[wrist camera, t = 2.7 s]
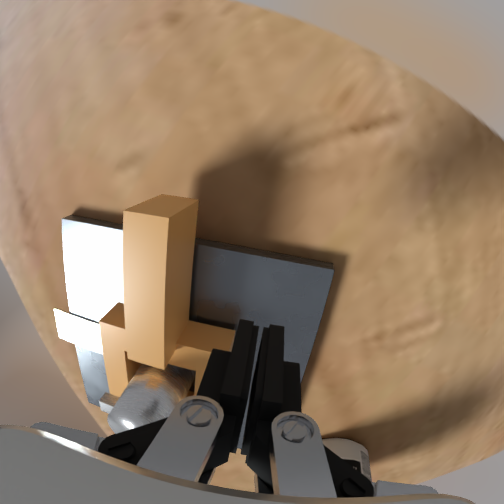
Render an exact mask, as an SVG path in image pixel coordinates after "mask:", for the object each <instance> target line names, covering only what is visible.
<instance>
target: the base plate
mask: <svg viewBox="0 0 504 504" xmlns="http://www.w3.org/2000/svg"><path fill="white" fill-rule="evenodd" d="M62 238H63V254H64V267H65V278H66V287H67V295H68V303H69V310H70V313H68V312H66V311H63V310H60V309H58V308H54V312H55V318H56V323H57V328H58V333H59V338H62V339H64V340H67V341H69V342H72V343H74V344H75V346H76V351H77V356H78V360H79V365H80V369H81V374H82V378H83V382H84V386H85V390H86V394H87V398H88V401H89V403H92V404H94V405H97V406H99V407H101V411H104V412H106V413H109V415H108V423H109V425H110V427H111V429H112V430H113V431H114V432H115V434H117V433H120V432H123V431H127V430H130V429H133V428H136V427H140V426H143V425H146V424H149V423H152V422H155V421H158V420H161V419H164V418H167V417H169V415H170V414H171V412H172V411H173V409H174V408H175V406H176V405H177V403H178V402H179V401H180V400H182V399H184V398H186V396H187V394H188V392H189V391H191V392H195V376H196V371H194V370H190V369H186V368H182V367H178V366H174V365H171V364H167V366H166V368H165V370H163V369H159V368H156V367H153V366H149V365H146V364H143V363H142V364H141V366H140V367H139V369H138V370H137V372H136V373H135V375H134V376H133V378H132V379H131V381H130V382H129V384H128V385H127V387H126V388H125V390H124V391H123V393H122V395H121V396H120V397H118V396H115V395H112V394H110V391H109V386H108V381H107V375H106V369H105V363H104V357H103V350H102V343H101V335H100V327H99V320H100V319H101V318H102V317H103V316H104V315H105V314H106V313H107V312H108V311H109V310H110V309H111V308H113V307H114V306H115V305H116V304H117V303H118V302H120V303H124V295H123V224H118V223H112V222H107V221H101V220H96V219H90V218H85V217H79V216H74V215H70V216H67V217H65V218H62ZM333 274H334V267H333V263H328V262H323V261H318V260H312V259H307V258H302V257H296V256H291V255H286V254H280V253H275V252H270V251H264V250H259V249H254V248H248V247H243V246H237V245H232V244H227V243H221V242H216V241H210V240H205V239H200V238H195V245H194V256H193V267H192V280H191V293H190V307H189V320H190V321H194V322H199V323H203V324H208V325H212V326H217V327H221V328H226V329H231V330H235V335H236V332H237V328H238V324H239V320H240V319H244V320H250V321H254V325H256V326H259V331H258V337H257V344H256V351H255V357H254V364H253V370H252V377H251V383H250V389H249V395H248V401H247V406H246V410H245V415H244V419H243V424H242V428H241V432H240V437H239V441H238V446H237V448H240V449H242V443H243V436H244V430H245V424H246V417H247V411H248V405H249V398H250V392H251V385H252V380H253V375H254V371H255V366H256V361H257V356H258V352H259V347H260V342H261V337H262V332H263V328H264V327H267V328H269V326H270V324H273V325H279V326H284V361H288V362H295V363H299V364H300V381H302V378H303V375H304V372H305V369H306V366H307V363H308V360H309V356H310V353H311V350H312V347H313V344H314V341H315V337H316V334H317V331H318V327H319V324H320V321H321V317H322V314H323V310H324V307H325V303H326V300H327V296H328V293H329V289H330V285H331V282H332V278H333ZM234 339H235V338H234Z"/></svg>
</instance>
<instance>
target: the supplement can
mask: <svg viewBox="0 0 504 504" xmlns="http://www.w3.org/2000/svg"><path fill="white" fill-rule="evenodd" d="M322 442H323V444H324V445H325V446H326V447H327V448H329V449H330V450H331V451H332V452H334V453H335V454H336V455H338V456H339V457H340V458H342V459H343V460H344V461H345V462H347V463H348V464H349V465H351V466H352V467H353V468H355V469H356V470H358V471H359V472H360V473H362V474H363V475H364V476H366V477H367V478H368V479H369V480H370V481H371V482H372V479H371V471H370V463H369V456H368V450H367V449H366V448H365V447H364V446H363V445H361V444H358V443H357V442H354V441H352V440H349V439H342V438H329V439H322Z"/></svg>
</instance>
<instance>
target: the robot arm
mask: <svg viewBox="0 0 504 504" xmlns="http://www.w3.org/2000/svg"><path fill="white" fill-rule="evenodd" d="M258 331H259V326H256V325H254V321H250V320H244V319H240V320H239V324H238V328H237V332H236V335H235V339H234V343H233V347H232V351H231V352H230V351H224V350H219V349H214V348H213V349H212V351H211V354H210V357H209V360H208V363H207V366H206V369H205V372H204V375H203V377H202V380H201V383H200V386H199V389H198V392H197V395H196V396H189V397H186V398H184V399H182V400H180V401H179V402H178V403H177V405H176V406H175V408H174V409H173V411H172V412H171V414H170V415H169V417H167V418H164V419H161V420H158V421H155V422H152V423H149V424H146V425H143V426H140V427H136V428H133V429H130V430H127V431H123V432H120V433H117V434H113V435H111V436H108V437H106V438H102V437H99V436H98V434H96V433H91V432H86V431H81V430H76V429H72V428H67V427H63V426H59V425H55V424H51V423H46V422H39V423H35V424H34V425H32V426H31V427H25V426H18V425H0V504H475V503H473V502H472V501H470V500H468V499H465V498H462V497H457V496H452V495H446V494H438V492H437V491H436V490H435V489H433V488H432V487H428V486H422V485H411V484H402V483H394V482H386V481H380V480H378V481H377V482H376V483H374V482H371V481H370V480H369V479H368V478H367V477H366V476H364V475H363V474H362V473H360V472H359V471H358V470H356V469H355V468H353V467H352V466H351V465H349V464H348V463H347V462H345V461H344V460H343V459H342V458H340V457H339V456H338V455H336V454H335V453H334V452H332V451H331V450H330V449H329V448H327V447H326V446H325V445H324V444H323V442H322V438H321V434H320V430H319V427H318V425H317V423H316V422H315V421H314V420H313V419H312V418H311V417H309V416H308V415H306V414H303V413H301V381H300V364H299V363H295V362H288V361H284V326H279V325H273V324H270V326H269V328H267V327H264V328H263V332H262V337H261V342H260V347H259V352H258V356H257V361H256V366H255V371H254V375H253V380H252V385H251V392H250V398H249V405H248V411H247V417H246V424H245V430H244V436H243V443H242V449H241V454H243V455H247V456H246V462H245V463H247V465H248V466H249V467H250V468H251V469H252V470H253V471H254V472H255V475H254V483H255V492H248V491H241V490H235V489H229V488H223V487H218V486H213V485H209V484H210V482H211V479H212V477H213V475H214V473H215V469H216V467H217V466H219V465H221V464H224V463H226V462H228V457H229V452H231V453H236V450H237V446H238V441H239V437H240V432H241V428H242V424H243V419H244V415H245V410H246V406H247V401H248V395H249V389H250V383H251V377H252V370H253V364H254V357H255V351H256V344H257V337H258Z"/></svg>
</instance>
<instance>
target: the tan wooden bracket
mask: <svg viewBox="0 0 504 504" xmlns="http://www.w3.org/2000/svg"><path fill="white" fill-rule="evenodd" d="M198 205H199V200H197V199H191V198H184V197H177V196H171V195H164V194H161V195H159V196H157V197H154V198H152V199H149V200H147V201H145V202H142V203H140V204H138V205H135V206H133V207H131V208H128V209H126V210H124V212H123V295H124V303H120V302H118V303H117V304H116V305H115V306H114V307H113V308H111V309H110V310H109V311H108V312H107V313H106V314H105V315H104V316H103V317H102V318H101V319H100V320H99V327H100V335H101V343H102V350H103V357H104V363H105V369H106V375H107V381H108V386H109V391H110V394H112V395H115V396H118V397H120V396H121V395H122V393H123V391H124V390H125V388H126V387H127V385H128V384H129V382H130V381H131V379H132V378H133V376H134V375H135V373H136V372H137V370H138V369H139V367H140V366H141V364H142V363H143V364H146V365H149V366H153V367H156V368H159V369H163V370H165V368H166V366H167V364H171V365H174V366H178V367H182V368H186V369H190V370H194V371H196V376H195V392H191V391H189V392H188V394H187V396H186V397H189V396H196V395H197V392H198V389H199V386H200V383H201V380H202V377H203V375H204V372H205V369H206V366H207V363H208V360H209V357H210V354H211V351H212V349H213V348H214V349H219V350H224V351H230V352H231V351H232V347H233V343H234V338H235V330H231V329H226V328H221V327H217V326H212V325H208V324H203V323H199V322H194V321H190V320H189V307H190V293H191V280H192V267H193V256H194V245H195V234H196V224H197V215H198Z"/></svg>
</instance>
